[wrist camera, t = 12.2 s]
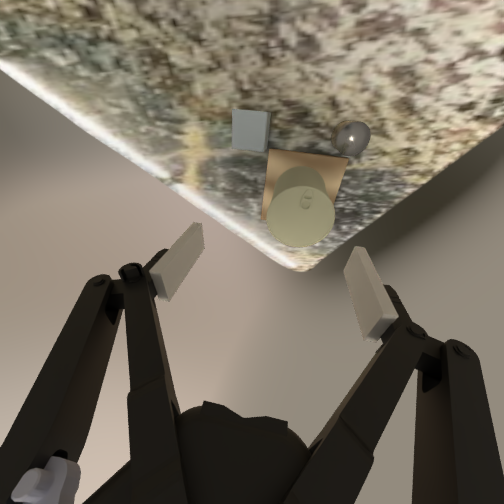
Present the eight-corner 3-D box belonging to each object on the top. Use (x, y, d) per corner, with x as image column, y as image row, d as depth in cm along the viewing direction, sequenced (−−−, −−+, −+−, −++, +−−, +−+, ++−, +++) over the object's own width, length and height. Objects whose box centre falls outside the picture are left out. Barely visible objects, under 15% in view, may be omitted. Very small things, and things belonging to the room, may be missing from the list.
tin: (335, 119, 30) (343, 120, 25) (363, 121, 29) (375, 123, 25) (327, 148, 32) (333, 154, 27) (352, 151, 32) (362, 157, 27)
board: (270, 148, 34) (269, 149, 33) (347, 157, 32) (348, 159, 31) (261, 216, 41) (260, 219, 40) (324, 226, 40) (324, 229, 39)
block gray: (240, 109, 31) (232, 108, 27) (271, 112, 31) (267, 111, 27) (239, 144, 34) (231, 148, 30) (267, 147, 34) (263, 152, 30)
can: (333, 172, 33) (349, 195, 23) (314, 220, 38) (320, 256, 29) (280, 160, 33) (273, 179, 24) (269, 210, 39) (259, 241, 29)
